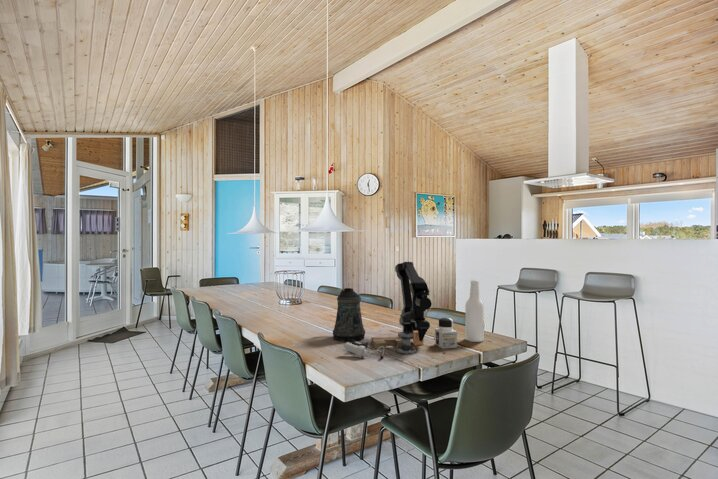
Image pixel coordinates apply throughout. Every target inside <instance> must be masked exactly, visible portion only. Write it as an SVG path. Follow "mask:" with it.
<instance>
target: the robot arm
mask: <svg viewBox="0 0 718 479" xmlns="http://www.w3.org/2000/svg"><path fill="white" fill-rule="evenodd" d="M394 270H395V273H396V276H397V278H398V279H399V280H400V281H399V282H400V287H401V295H402V304H403V307H402V310H401V314H400V315H399V320H398V321H399V325H400V326H402V332H411V333H413V331H418V335H419V341H422V340H423V341H424V338H425V335H426V334H427V331H428V330H429V329H430V328H431V327H430V326H431V325H430V324H431V323H430V322H429V321H428V320H426V317H425V312H426V311H428V310H430V308H431V307H432V304H433V303H432V300H431V299H430V298H429V297H428V296H430V290H429V287H428V284H427V282H426V280H424V278H423V277H420V276H419V274H418V272H417V270H416V267H415V266H414V262H413V261H403V262H401V263H397V264H396V265H395V267H394ZM411 338H412V339H413V337H411ZM411 338H410V339H411Z"/></svg>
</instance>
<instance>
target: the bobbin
mask: <svg viewBox="0 0 718 479" xmlns="http://www.w3.org/2000/svg"><path fill="white" fill-rule="evenodd" d="M397 337H401V347H397V346H396V348H395V353H397V354H401V355H413V354H416V352H417V349H416V348H415V347H412V346H411V337H414V333H411V332H403V331H400V332H398V333H397Z"/></svg>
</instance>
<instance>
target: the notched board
mask: <svg viewBox="0 0 718 479" xmlns="http://www.w3.org/2000/svg"><path fill="white" fill-rule="evenodd" d="M370 340H371V341H370V342H371V344H372V346H373V348H374V349H375V350H377V349H378V348H379V347H381V346H384V349H387V346H395V347H396V348H397V347H401V337H399V336H382V337H381V336H377V337H371V338H370ZM379 349H380V350H381V349H383V347H381V348H379ZM379 349H378V350H379Z"/></svg>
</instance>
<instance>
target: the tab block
mask: <svg viewBox="0 0 718 479" xmlns="http://www.w3.org/2000/svg"><path fill="white" fill-rule="evenodd" d="M413 333H414V337H413V338H412V344H414V346H424V339H423V340H422V341H419V335H418V331H413Z"/></svg>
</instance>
